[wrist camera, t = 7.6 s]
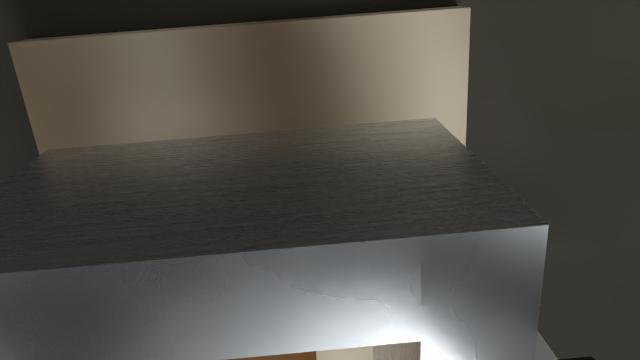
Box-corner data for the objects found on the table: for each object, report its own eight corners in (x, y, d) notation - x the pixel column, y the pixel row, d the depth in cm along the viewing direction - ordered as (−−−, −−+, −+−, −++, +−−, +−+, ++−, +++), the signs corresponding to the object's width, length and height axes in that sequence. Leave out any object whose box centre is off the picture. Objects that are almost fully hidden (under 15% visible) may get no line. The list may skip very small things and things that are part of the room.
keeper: (119, 382, 18) (26, 603, 12) (26, 39, 14) (-206, 87, 7) (448, 350, 19) (535, 548, 12) (458, 6, 14) (602, 23, 8)
